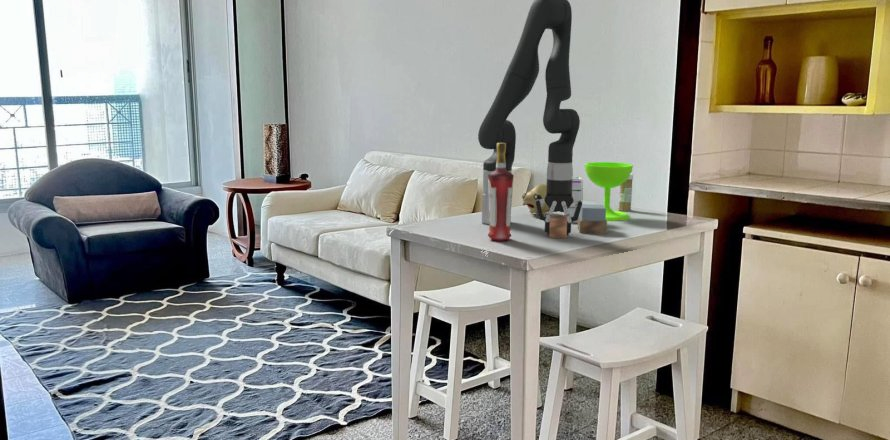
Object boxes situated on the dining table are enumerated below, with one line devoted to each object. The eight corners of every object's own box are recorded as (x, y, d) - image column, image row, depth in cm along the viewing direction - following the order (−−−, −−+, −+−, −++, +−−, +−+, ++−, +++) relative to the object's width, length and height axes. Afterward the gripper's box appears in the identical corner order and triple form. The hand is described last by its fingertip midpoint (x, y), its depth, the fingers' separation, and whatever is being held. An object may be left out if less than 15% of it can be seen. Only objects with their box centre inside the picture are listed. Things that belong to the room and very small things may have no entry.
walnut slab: (579, 234, 222) (580, 221, 222) (577, 228, 230) (578, 216, 229) (606, 234, 222) (606, 221, 221) (603, 229, 229) (604, 217, 229)
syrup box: (581, 223, 239) (583, 179, 236) (563, 222, 240) (564, 178, 237) (581, 220, 244) (583, 176, 241) (564, 219, 245) (565, 176, 243)
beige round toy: (516, 214, 253) (517, 184, 251) (538, 210, 261) (539, 181, 259) (539, 218, 246) (540, 187, 244) (560, 214, 255) (561, 184, 253)
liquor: (485, 237, 215) (486, 142, 210) (510, 236, 216) (512, 142, 211) (488, 242, 208) (490, 144, 203) (514, 242, 209) (516, 144, 204)
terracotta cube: (549, 237, 215) (549, 217, 214) (548, 234, 220) (549, 214, 219) (566, 238, 214) (567, 218, 213) (565, 234, 219) (566, 215, 218)
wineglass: (632, 221, 241) (635, 167, 238) (583, 220, 244) (585, 166, 241) (628, 213, 257) (630, 162, 254) (582, 212, 259) (584, 161, 256)
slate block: (582, 221, 222) (582, 208, 221) (579, 216, 229) (580, 204, 228) (605, 221, 221) (605, 208, 221) (602, 217, 228) (602, 204, 228)
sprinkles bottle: (616, 209, 265) (618, 172, 263) (628, 209, 266) (630, 172, 263) (620, 211, 261) (622, 174, 258) (633, 211, 261) (635, 174, 259)
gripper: (535, 178, 211) (533, 236, 214) (585, 179, 209) (583, 237, 213) (534, 175, 218) (533, 231, 221) (583, 176, 217) (581, 232, 220)
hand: (557, 234), depth 217 cm, fingers closed on terracotta cube, 5 cm apart
